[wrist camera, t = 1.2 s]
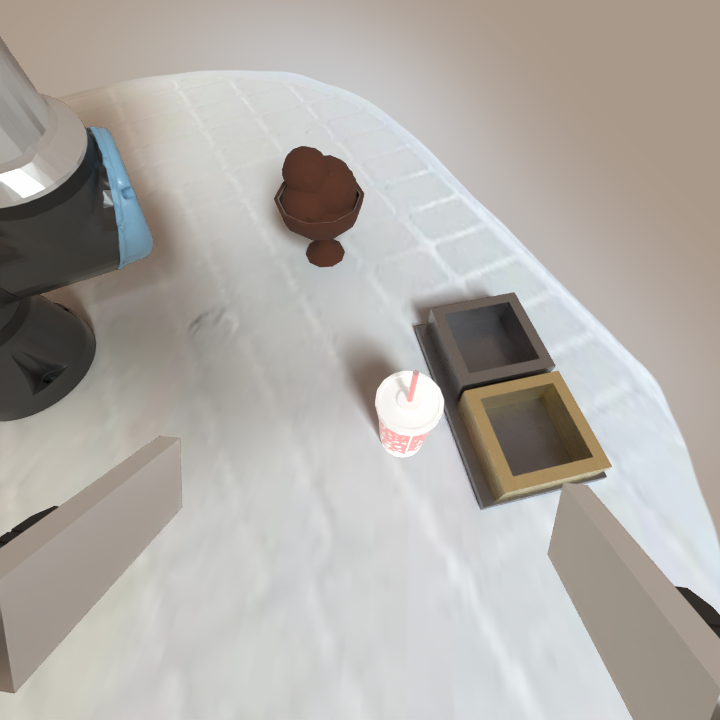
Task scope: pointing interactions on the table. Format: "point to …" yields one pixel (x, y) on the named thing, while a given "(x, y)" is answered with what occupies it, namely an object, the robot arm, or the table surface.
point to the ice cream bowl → (319, 201)
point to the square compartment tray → (507, 402)
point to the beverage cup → (407, 411)
